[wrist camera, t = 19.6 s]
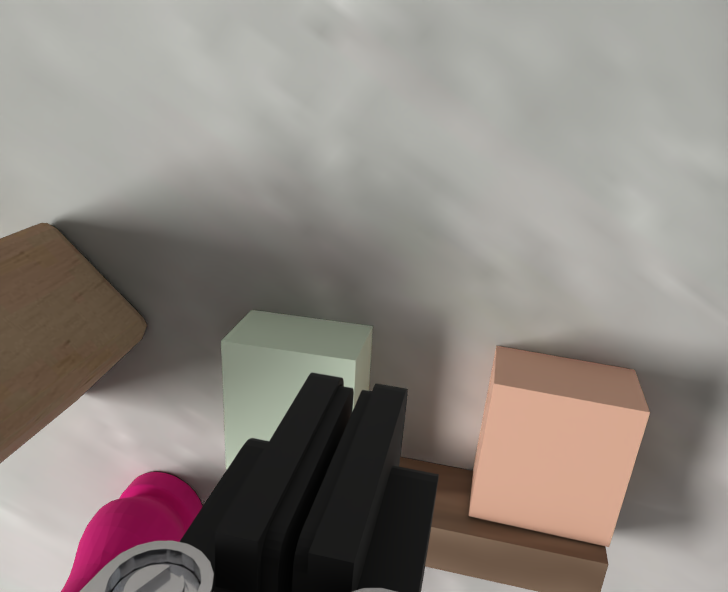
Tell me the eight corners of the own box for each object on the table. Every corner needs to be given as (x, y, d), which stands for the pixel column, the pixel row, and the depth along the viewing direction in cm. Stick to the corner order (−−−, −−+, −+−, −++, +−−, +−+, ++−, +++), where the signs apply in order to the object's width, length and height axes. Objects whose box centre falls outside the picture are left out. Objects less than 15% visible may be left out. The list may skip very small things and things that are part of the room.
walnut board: (268, 430, 45) (233, 484, 39) (595, 494, 41) (608, 564, 36) (267, 466, 46) (233, 523, 41) (586, 531, 42) (596, 604, 37)
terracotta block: (496, 343, 39) (494, 383, 35) (634, 368, 38) (650, 412, 33) (473, 465, 43) (468, 516, 38) (598, 491, 41) (608, 547, 37)
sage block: (252, 308, 42) (220, 340, 37) (373, 324, 40) (355, 360, 36) (254, 426, 45) (226, 469, 41) (366, 445, 44) (349, 491, 39)
